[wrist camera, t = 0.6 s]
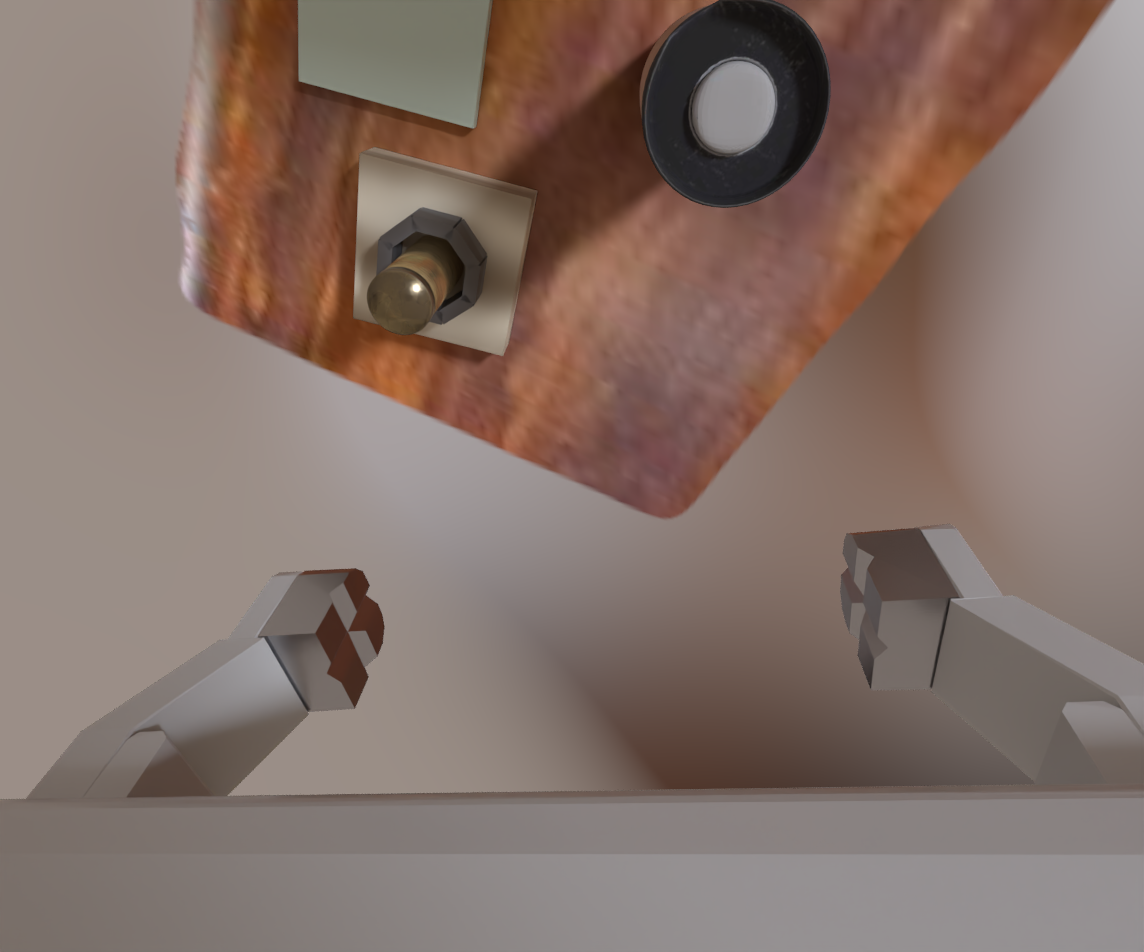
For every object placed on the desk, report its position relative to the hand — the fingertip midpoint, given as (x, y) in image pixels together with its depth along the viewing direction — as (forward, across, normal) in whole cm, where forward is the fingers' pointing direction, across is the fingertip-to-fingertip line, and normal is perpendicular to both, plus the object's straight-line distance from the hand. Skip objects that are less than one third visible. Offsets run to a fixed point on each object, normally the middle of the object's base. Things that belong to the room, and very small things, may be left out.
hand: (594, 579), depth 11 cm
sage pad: (+42, +13, -13) cm, 46 cm away
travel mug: (+42, -5, -5) cm, 43 cm away
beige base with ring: (+42, +14, +3) cm, 45 cm away
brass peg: (+39, +14, +3) cm, 42 cm away
